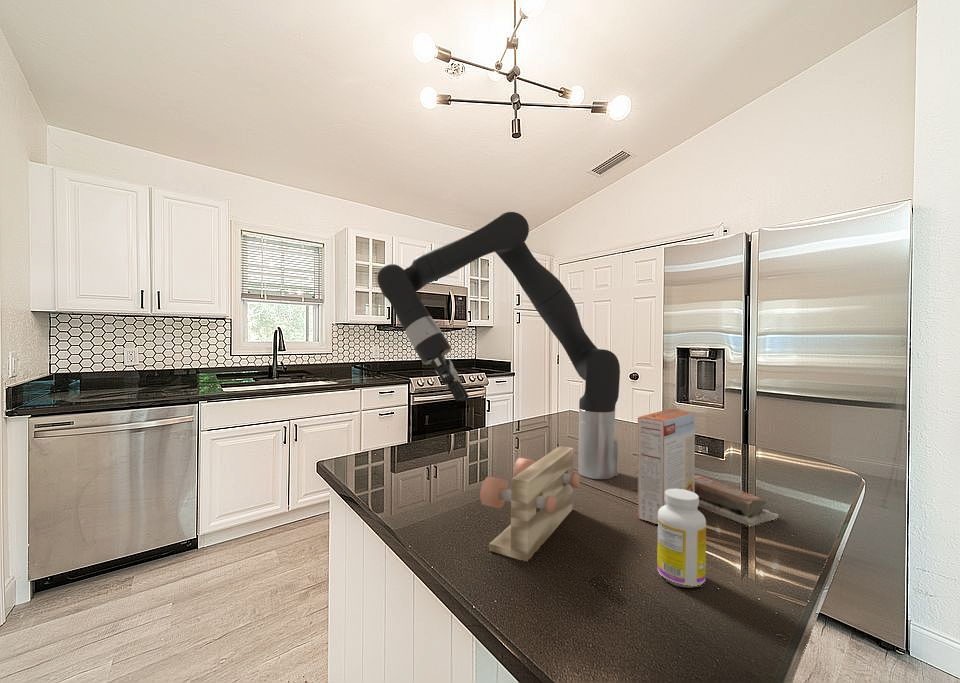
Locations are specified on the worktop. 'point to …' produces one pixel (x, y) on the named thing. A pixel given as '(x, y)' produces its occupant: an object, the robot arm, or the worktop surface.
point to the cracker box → (664, 458)
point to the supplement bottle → (681, 539)
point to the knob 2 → (525, 463)
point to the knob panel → (528, 520)
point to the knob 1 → (509, 495)
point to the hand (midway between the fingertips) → (463, 399)
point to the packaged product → (731, 502)
